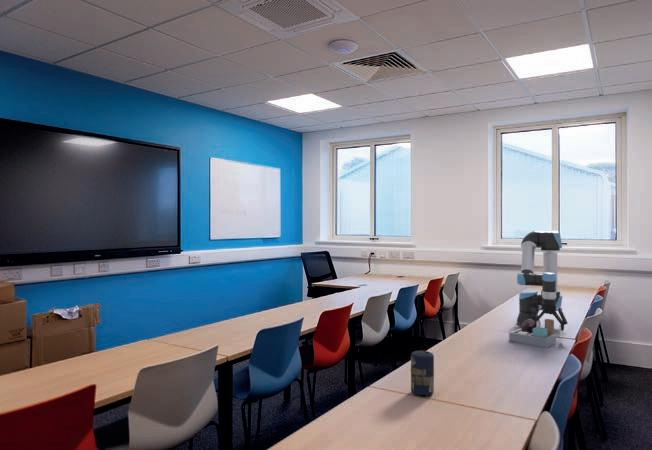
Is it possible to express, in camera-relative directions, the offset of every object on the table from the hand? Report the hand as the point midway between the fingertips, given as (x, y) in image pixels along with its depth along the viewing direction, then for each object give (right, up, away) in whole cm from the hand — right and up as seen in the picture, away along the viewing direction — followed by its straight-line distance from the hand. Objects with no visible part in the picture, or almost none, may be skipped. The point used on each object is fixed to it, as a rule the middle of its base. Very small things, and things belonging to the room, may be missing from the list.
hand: (549, 333), depth 274 cm
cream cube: (-17, -4, -2) cm, 17 cm away
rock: (-5, -4, +16) cm, 17 cm away
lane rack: (-12, -4, -4) cm, 13 cm away
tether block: (-5, -4, -5) cm, 8 cm away
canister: (-94, -5, -83) cm, 126 cm away
